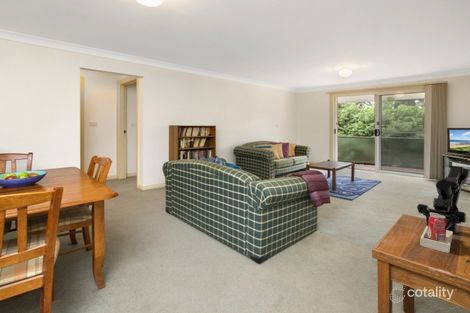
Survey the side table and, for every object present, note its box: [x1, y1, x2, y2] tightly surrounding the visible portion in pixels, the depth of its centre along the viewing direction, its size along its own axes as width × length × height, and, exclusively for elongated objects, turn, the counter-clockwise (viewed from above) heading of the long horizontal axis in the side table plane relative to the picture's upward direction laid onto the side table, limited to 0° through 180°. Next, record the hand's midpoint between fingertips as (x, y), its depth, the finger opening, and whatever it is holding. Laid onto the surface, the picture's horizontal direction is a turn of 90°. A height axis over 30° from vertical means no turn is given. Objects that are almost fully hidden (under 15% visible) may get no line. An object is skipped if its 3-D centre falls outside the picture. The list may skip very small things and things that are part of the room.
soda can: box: [428, 213, 447, 242], centre depth 125 cm, size 7×7×12 cm
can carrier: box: [419, 225, 453, 254], centre depth 129 cm, size 21×11×4 cm, turn 137°
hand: (436, 227), depth 124 cm, fingers closed on soda can, 7 cm apart
